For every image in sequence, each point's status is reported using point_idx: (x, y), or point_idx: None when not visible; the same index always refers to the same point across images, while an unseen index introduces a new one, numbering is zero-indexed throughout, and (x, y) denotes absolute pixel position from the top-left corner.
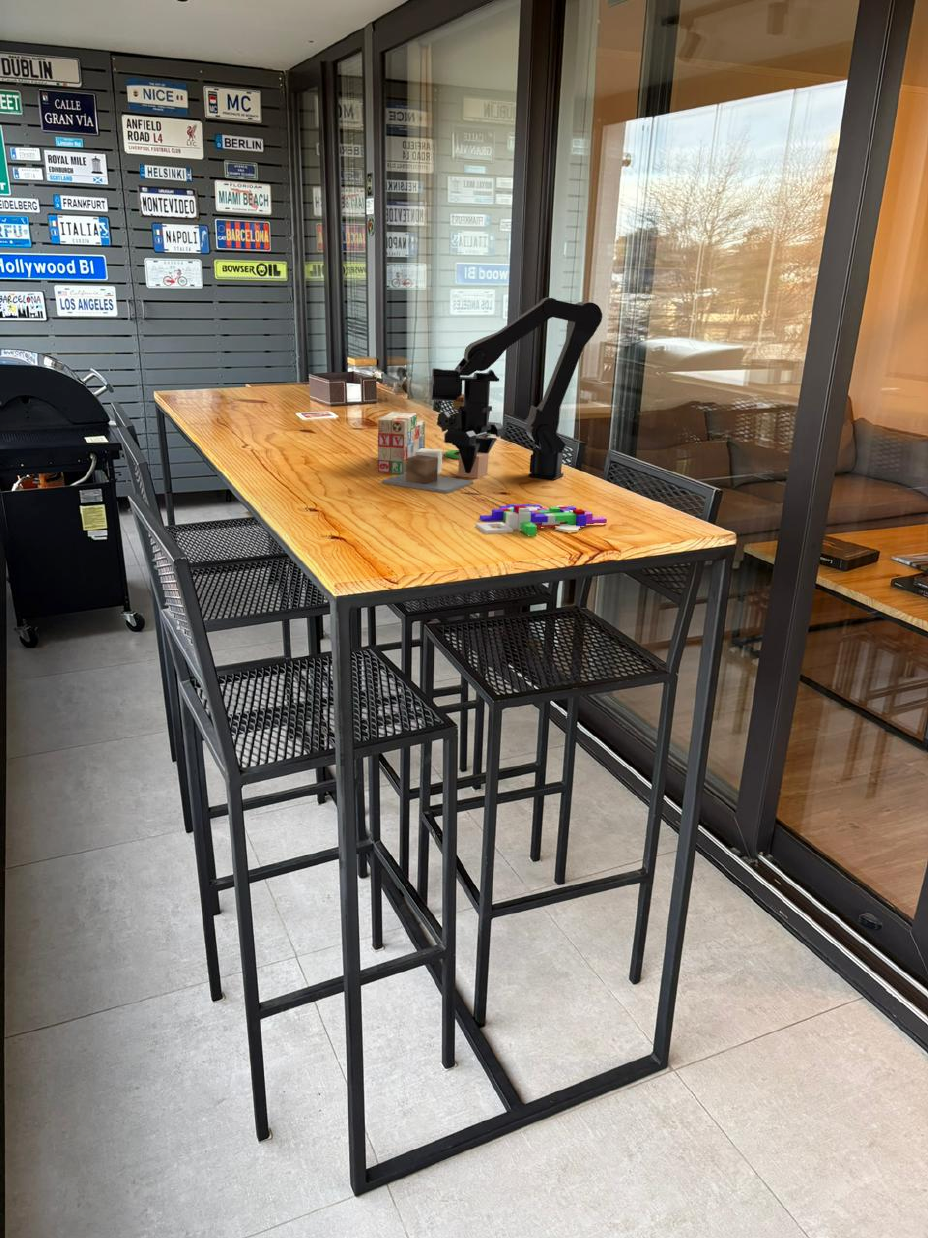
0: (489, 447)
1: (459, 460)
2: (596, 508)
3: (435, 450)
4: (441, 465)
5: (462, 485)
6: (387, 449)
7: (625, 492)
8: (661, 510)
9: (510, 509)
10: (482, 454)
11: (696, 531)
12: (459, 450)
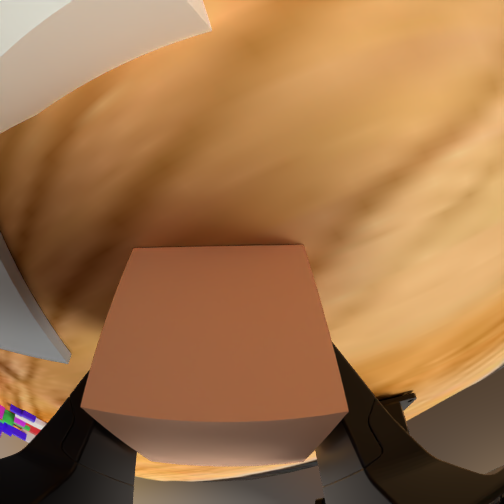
0: (324, 491)
1: (100, 351)
2: (145, 462)
3: None
4: (195, 26)
5: (6, 347)
6: None
7: (277, 466)
8: (202, 477)
9: (3, 420)
10: (237, 463)
11: (150, 477)
12: (26, 448)
